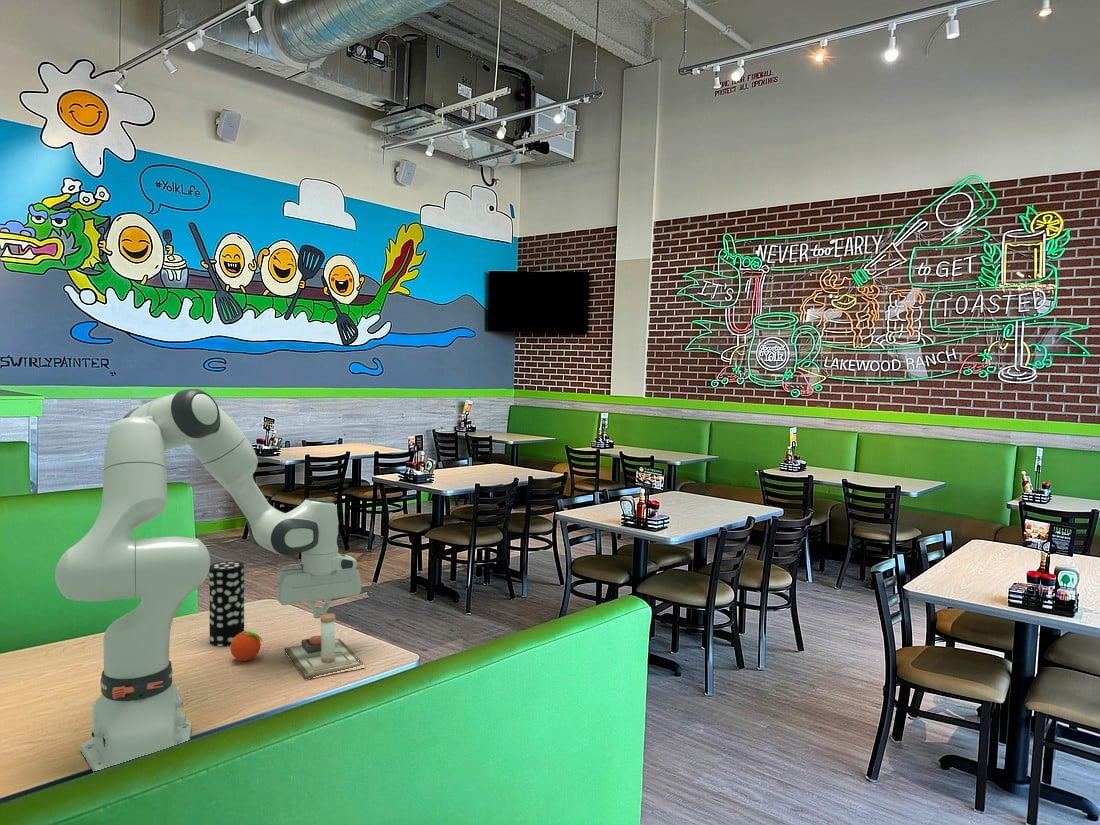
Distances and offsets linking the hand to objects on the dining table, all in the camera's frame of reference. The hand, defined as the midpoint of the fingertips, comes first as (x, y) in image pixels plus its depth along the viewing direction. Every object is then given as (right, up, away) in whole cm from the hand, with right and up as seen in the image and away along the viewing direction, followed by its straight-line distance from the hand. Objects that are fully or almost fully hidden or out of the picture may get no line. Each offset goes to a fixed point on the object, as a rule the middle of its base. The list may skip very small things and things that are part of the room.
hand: (319, 617), depth 192 cm
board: (+2, -10, -4) cm, 10 cm away
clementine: (-16, -10, -5) cm, 19 cm away
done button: (-1, -8, +1) cm, 8 cm away
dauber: (+4, -9, -7) cm, 12 cm away
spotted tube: (-27, -9, +8) cm, 29 cm away
